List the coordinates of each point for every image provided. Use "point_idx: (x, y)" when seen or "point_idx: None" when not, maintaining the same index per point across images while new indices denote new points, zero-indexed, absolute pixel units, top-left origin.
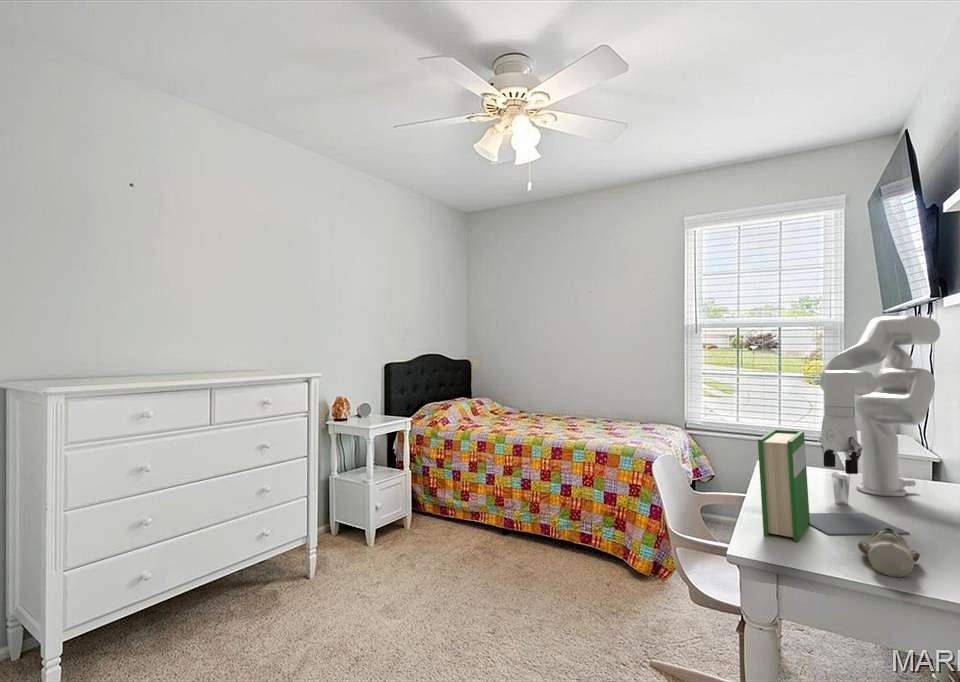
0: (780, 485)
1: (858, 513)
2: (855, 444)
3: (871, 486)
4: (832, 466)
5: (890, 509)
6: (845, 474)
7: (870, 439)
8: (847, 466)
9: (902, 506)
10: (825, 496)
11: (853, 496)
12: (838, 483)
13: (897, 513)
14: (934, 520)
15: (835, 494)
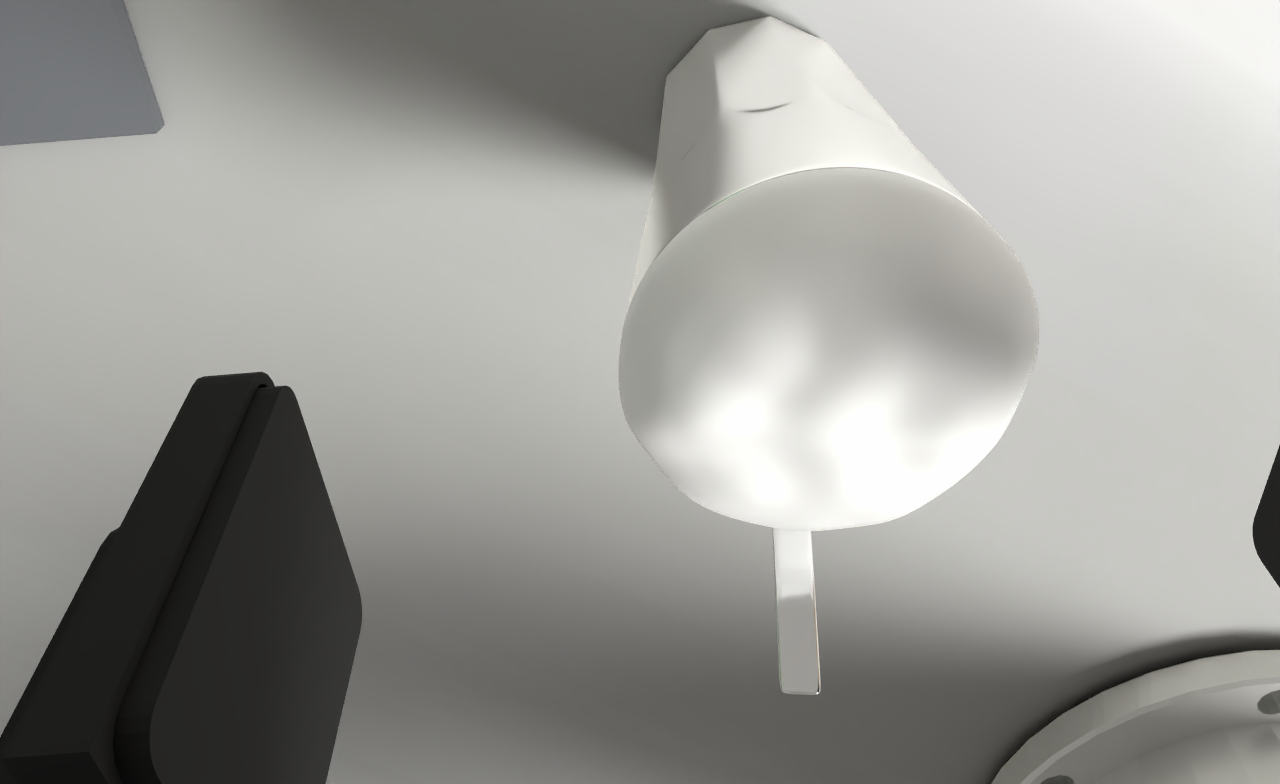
0: None
1: (69, 20)
2: None
3: (1201, 775)
4: (1275, 479)
5: (483, 552)
6: (732, 472)
7: None
8: (128, 554)
9: (621, 705)
10: (1193, 79)
11: (1093, 467)
12: (681, 179)
13: None
14: None
15: (759, 59)
